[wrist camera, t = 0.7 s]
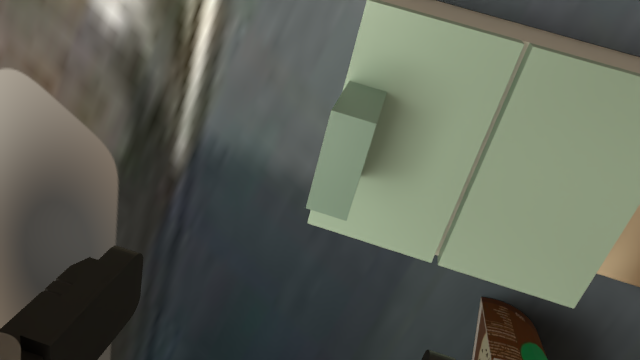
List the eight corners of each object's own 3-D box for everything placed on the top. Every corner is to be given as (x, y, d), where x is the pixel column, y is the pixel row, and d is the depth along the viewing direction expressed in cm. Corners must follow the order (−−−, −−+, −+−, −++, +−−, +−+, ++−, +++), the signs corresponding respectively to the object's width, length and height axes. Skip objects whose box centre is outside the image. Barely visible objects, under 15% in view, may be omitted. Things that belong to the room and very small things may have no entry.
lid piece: (519, 37, 25) (544, 69, 19) (431, 246, 31) (430, 320, 25) (371, -5, 26) (351, 13, 20) (313, 208, 32) (284, 272, 26)
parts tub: (643, 58, 30) (708, 95, 23) (547, 235, 36) (573, 308, 29) (383, -15, 31) (367, -1, 24) (332, 168, 37) (307, 223, 30)
